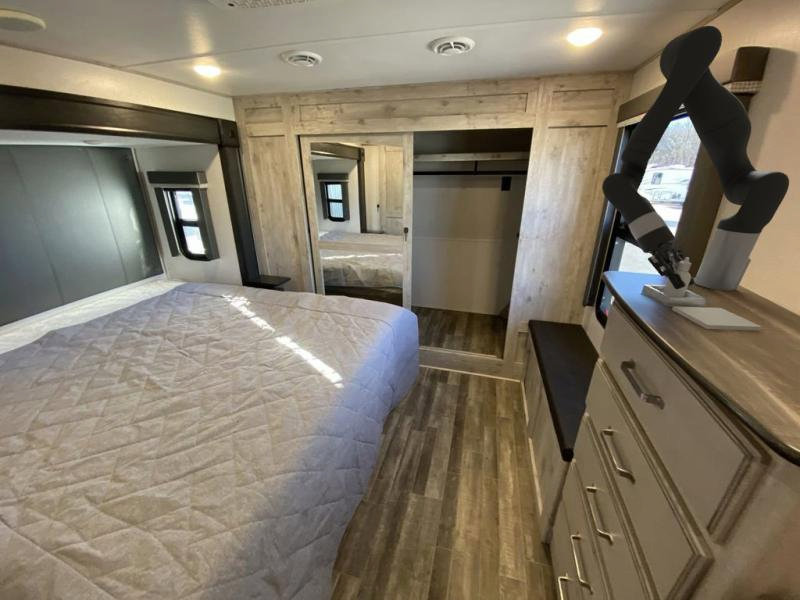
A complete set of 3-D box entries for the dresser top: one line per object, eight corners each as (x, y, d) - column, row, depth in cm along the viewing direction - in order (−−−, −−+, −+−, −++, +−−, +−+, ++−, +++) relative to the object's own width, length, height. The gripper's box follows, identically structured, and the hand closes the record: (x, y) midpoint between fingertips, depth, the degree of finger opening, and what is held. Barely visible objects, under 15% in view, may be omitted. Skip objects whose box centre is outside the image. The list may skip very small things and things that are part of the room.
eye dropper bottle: (681, 298, 87) (698, 257, 82) (680, 304, 83) (698, 261, 79) (661, 294, 90) (677, 253, 85) (660, 300, 86) (676, 258, 81)
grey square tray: (674, 293, 91) (677, 285, 90) (703, 307, 82) (707, 298, 81) (641, 292, 91) (644, 284, 90) (666, 306, 82) (669, 297, 81)
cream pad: (719, 311, 80) (721, 308, 80) (759, 330, 71) (761, 326, 71) (672, 309, 80) (673, 306, 80) (706, 328, 71) (707, 324, 71)
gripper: (651, 226, 82) (689, 284, 77) (677, 222, 88) (714, 276, 83) (623, 242, 88) (657, 296, 83) (650, 237, 94) (682, 288, 90)
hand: (685, 286), depth 83 cm, fingers closed on eye dropper bottle, 4 cm apart
